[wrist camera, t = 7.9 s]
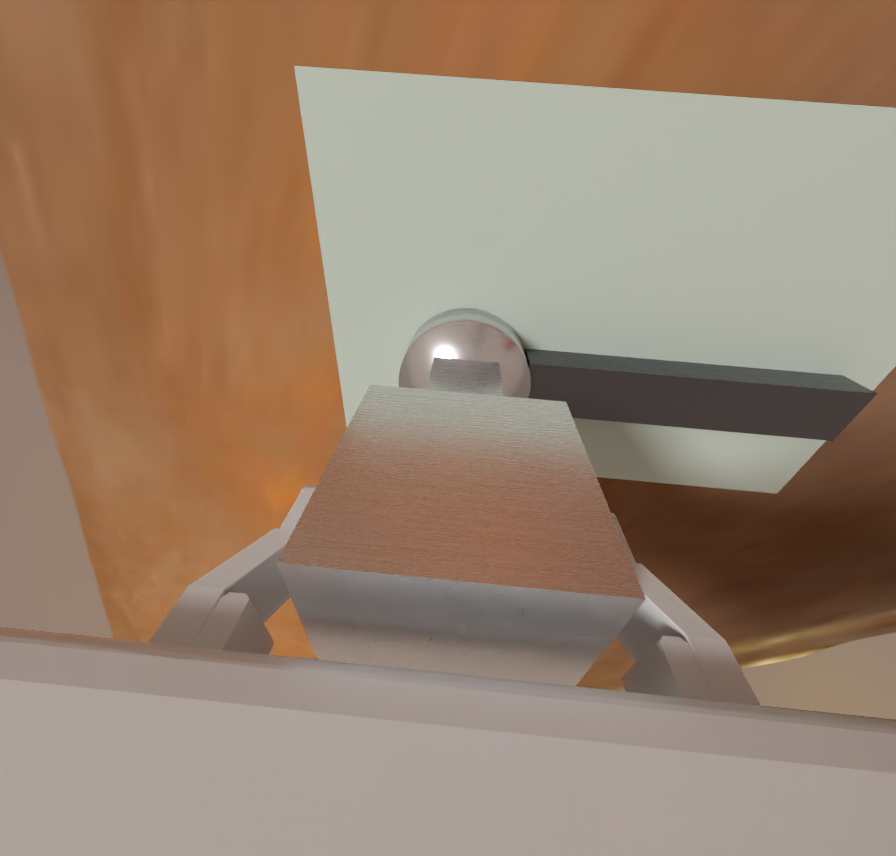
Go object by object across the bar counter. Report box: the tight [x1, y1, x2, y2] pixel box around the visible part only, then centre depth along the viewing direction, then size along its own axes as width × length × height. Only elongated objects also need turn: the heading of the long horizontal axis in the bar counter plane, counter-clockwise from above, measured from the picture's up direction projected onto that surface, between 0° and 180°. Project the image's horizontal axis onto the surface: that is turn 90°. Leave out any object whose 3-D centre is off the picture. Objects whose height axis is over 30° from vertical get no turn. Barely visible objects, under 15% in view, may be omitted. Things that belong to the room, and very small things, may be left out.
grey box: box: [277, 385, 646, 686], centre depth 10 cm, size 6×6×6 cm
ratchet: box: [399, 308, 877, 441], centre depth 16 cm, size 6×22×5 cm, turn 87°
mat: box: [294, 66, 896, 494], centre depth 17 cm, size 18×28×1 cm, turn 87°
